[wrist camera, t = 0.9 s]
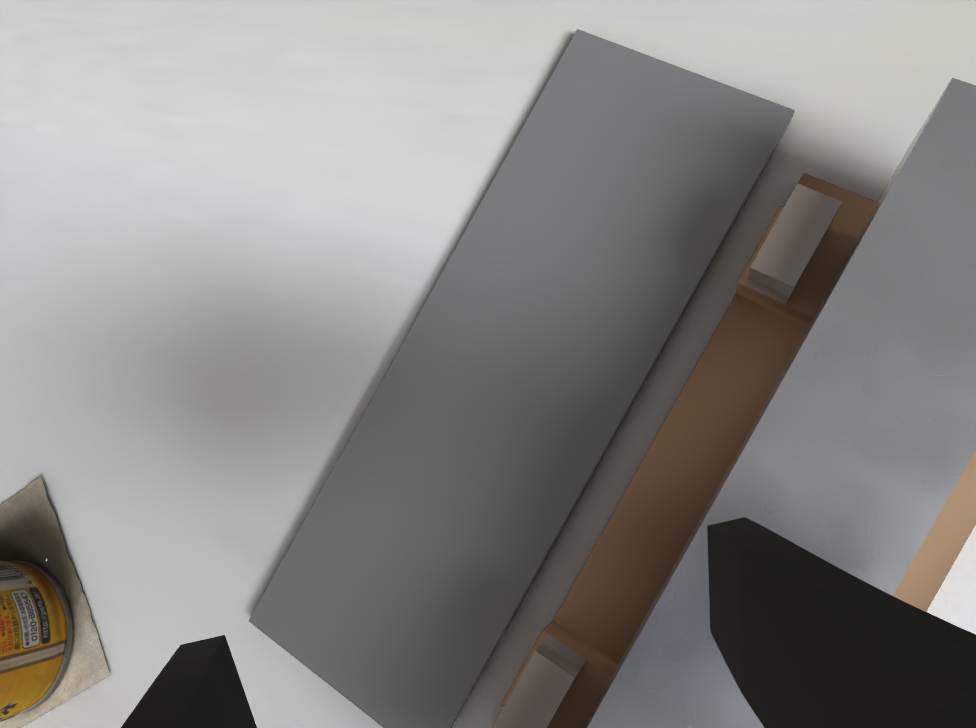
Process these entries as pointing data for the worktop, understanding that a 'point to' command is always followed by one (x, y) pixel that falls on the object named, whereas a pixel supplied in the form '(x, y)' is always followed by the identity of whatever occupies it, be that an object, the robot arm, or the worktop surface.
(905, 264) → the rail
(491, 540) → the mat
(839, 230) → the rail stand
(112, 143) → the worktop surface
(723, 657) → the robot arm
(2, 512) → the condiment
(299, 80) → the worktop surface
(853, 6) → the worktop surface
